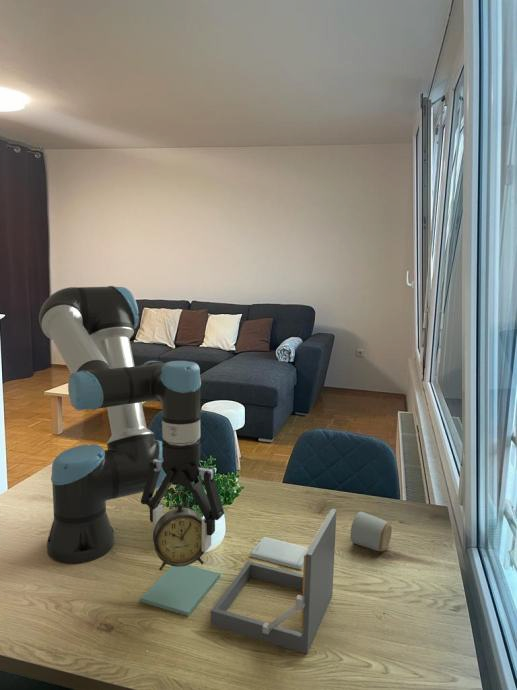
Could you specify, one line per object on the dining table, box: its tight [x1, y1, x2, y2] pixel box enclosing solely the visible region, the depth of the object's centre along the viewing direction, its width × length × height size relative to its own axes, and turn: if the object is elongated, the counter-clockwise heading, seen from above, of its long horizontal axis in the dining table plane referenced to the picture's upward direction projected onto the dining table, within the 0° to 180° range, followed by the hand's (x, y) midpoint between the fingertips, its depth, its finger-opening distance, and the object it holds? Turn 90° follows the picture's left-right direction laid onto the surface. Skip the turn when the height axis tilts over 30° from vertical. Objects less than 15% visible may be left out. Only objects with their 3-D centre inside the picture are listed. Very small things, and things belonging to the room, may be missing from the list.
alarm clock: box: [152, 490, 205, 571], centre depth 111 cm, size 11×5×16 cm, turn 106°
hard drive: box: [250, 536, 309, 571], centre depth 127 cm, size 2×8×12 cm
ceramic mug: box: [349, 511, 392, 553], centre depth 132 cm, size 11×8×8 cm
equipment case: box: [210, 508, 338, 655], centre depth 105 cm, size 19×19×19 cm
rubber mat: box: [139, 564, 221, 617], centre depth 113 cm, size 11×14×1 cm
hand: (181, 542), depth 111 cm, fingers closed on alarm clock, 11 cm apart
